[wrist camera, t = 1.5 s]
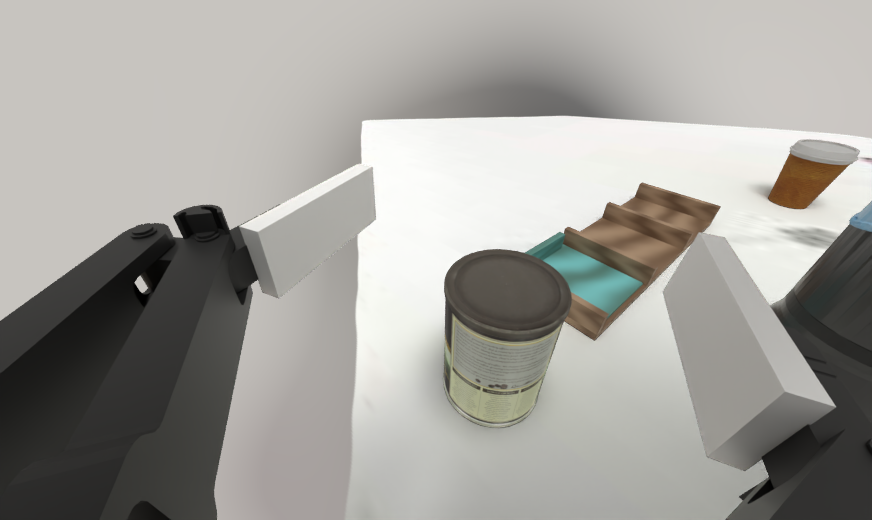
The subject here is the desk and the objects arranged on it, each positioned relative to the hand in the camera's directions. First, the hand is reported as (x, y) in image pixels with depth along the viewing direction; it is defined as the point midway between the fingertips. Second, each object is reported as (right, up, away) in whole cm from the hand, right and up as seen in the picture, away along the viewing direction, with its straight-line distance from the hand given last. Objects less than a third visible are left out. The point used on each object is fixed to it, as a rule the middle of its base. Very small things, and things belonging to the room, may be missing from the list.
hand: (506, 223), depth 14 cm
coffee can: (+3, -15, +21) cm, 26 cm away
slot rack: (+28, 0, +41) cm, 50 cm away
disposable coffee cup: (+73, +11, +56) cm, 92 cm away
